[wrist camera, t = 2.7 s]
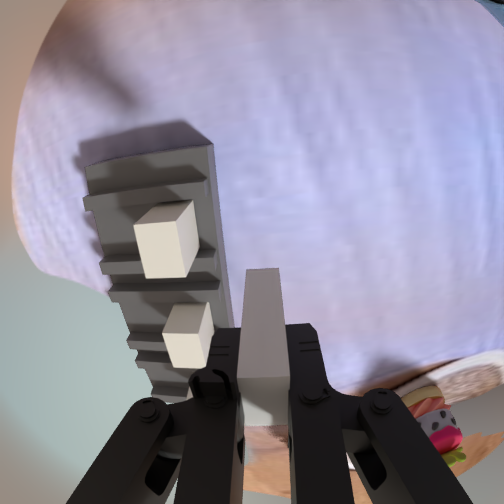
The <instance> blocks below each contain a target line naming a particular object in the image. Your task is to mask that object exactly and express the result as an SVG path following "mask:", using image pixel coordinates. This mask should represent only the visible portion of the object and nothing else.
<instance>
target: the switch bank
mask: <svg viewBox="0 0 504 504" xmlns="http://www.w3.org/2000/svg"><path fill="white" fill-rule="evenodd" d="M85 172H86V178H87V183H88V188H89V193H90V194H89V195H87V196H85V197H83V203H84V207H85V212H86V211H93V212H94V217H95V221H96V225H97V229H98V233H99V237H100V241H101V245H102V249H103V252H104V256H105V257H104V258H103V259H102V260H101V261H100V262H99V265H100V268H101V271H102V274H103V275H110V276H111V279H112V283H113V286H112V287H111V288H110V290H109V291H108V293H109V296H110V299H111V301H112V302H119V304H120V307H121V310H122V312H123V315H124V318H125V321H126V323H127V326H128V329H129V331H130V335H129V336H128V338H127V340H126V341H127V343H128V346H129V348H130V349H137V351H138V355H137V357H136V359H135V362H136V364H137V366H138V368H143V369H145V370H146V372H147V374H148V377H149V379H150V381H151V383H152V386H153V389H152V392H151V395H152V397H154V398H159V399H161V400H163V401H164V402H169V403H178V402H182V401H186V399H187V394H188V390H189V384H188V380H189V378H190V376H191V375H192V374H193V372H195V371H197V370H198V369H201V368H175V367H173V365H172V362H171V359H170V356H169V353H168V350H167V347H166V344H165V341H164V338H163V335H162V332H163V329H164V327H165V325H166V322H167V320H168V317H169V315H170V313H171V310H172V308H173V306H174V303H190V302H209V305H210V310H211V316H212V321H213V326H214V333H215V332H216V331H217V330H218V328H235V326H234V319H233V312H232V304H231V296H230V289H229V281H228V273H227V265H226V257H225V248H224V240H223V231H222V223H221V214H220V205H219V195H218V186H217V176H216V166H215V156H214V146H213V144H206V145H198V146H189V147H182V148H174V149H167V150H161V151H154V152H148V153H142V154H136V155H131V156H125V157H120V158H115V159H110V160H105V161H101V162H98V163H95V164H92V165H89V166H87V167H85ZM187 200H193V203H194V210H195V217H196V224H197V231H198V238H199V245H200V248H199V250H198V252H197V254H196V256H195V259H194V261H193V263H192V265H191V267H190V270H189V272H188V274H187V276H186V277H180V278H146V277H145V273H144V269H143V265H142V261H141V257H140V253H139V248H138V244H137V240H136V235H135V230H134V226H133V225H134V224H135V223H136V222H137V221H138V220H139V219H140V218H141V217H143V216H144V215H145V214H146V213H147V212H148V211H149V210H150V209H152V208H153V207H154V206H155V205H156V204H157V203H166V202H176V201H187Z"/></svg>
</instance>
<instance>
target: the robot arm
mask: <svg viewBox="0 0 504 504" xmlns="http://www.w3.org/2000/svg"><path fill="white" fill-rule="evenodd" d="M475 1H477V2H479V3H480V4H481V5H482V6H484V7H485V8H486V9H487V10H488V11H489V12H490V13H491V14H492V15H493V16H494V17H495V18H496V19H497V20H498V22H499V23H500V24H501V25H502V26H503V27H504V0H475ZM188 384H189V386H190V389H191V392H192V395H193V397H192V398H190V399H188V400H186V401H182V402H178V403H174V404H168V405H167V404H166V403H165V402H164V401H163V400H161V399H159V398H154V397H148V398H143V399H141V400H139V401H137V402H135V403H134V404H133V405H132V406H131V408H130V409H129V411H128V412H127V413H126V415H125V416H124V418H123V419H122V421H121V422H120V424H119V425H118V427H117V428H116V430H115V431H114V432H113V434H112V435H111V437H110V439H109V440H108V441H107V443H106V444H105V446H104V447H103V449H102V450H101V452H100V453H99V455H98V456H97V458H96V459H95V461H94V462H93V464H92V465H91V467H90V468H89V470H88V471H87V472H86V474H85V475H84V477H83V478H82V480H81V481H80V483H79V485H78V486H77V487H76V489H75V491H74V492H73V494H72V495H71V497H70V498H69V500H68V501H67V503H66V504H165V502H166V500H167V498H168V496H169V494H170V492H171V490H172V488H173V486H174V484H175V482H176V480H177V478H178V482H177V487H176V493H175V499H174V504H242V497H243V476H244V455H245V436H244V423H245V426H273V425H288V429H289V434H288V448H289V462H290V483H291V504H355V503H354V497H353V490H352V484H351V478H350V472H349V466H348V460H347V455H346V452H347V454H348V456H349V458H350V460H351V462H352V464H353V466H354V468H355V470H356V472H357V473H358V475H359V477H360V479H361V481H362V483H363V485H364V487H365V489H366V491H367V493H368V495H369V497H370V499H371V501H372V503H373V504H473V503H472V501H471V500H470V498H469V496H468V495H467V493H466V492H465V490H464V489H463V487H462V486H461V484H460V483H459V481H458V480H457V478H456V477H455V475H454V474H453V472H452V471H451V469H450V468H449V466H448V465H447V463H446V462H445V461H444V459H443V458H442V456H441V455H440V453H439V452H438V450H437V449H436V447H435V446H434V445H433V443H432V442H431V440H430V439H429V437H428V436H427V435H426V433H425V432H424V430H423V429H422V427H421V426H420V425H419V423H418V422H417V420H416V419H415V418H414V416H413V415H412V413H411V412H410V411H409V409H408V408H407V406H406V405H405V404H404V402H403V401H402V400H401V398H400V397H399V396H398V395H397V394H396V393H395V392H393V391H391V390H389V389H383V388H377V389H372V390H370V391H368V392H367V393H365V394H364V396H363V397H359V396H351V395H346V394H342V393H340V392H338V391H336V390H335V389H333V388H332V387H331V385H330V384H329V382H328V380H327V376H326V371H325V366H324V362H323V357H322V353H321V348H320V344H319V340H318V335H317V331H316V330H315V329H314V328H313V327H312V326H311V324H310V323H304V324H289V325H285V319H284V310H283V301H282V292H281V283H280V274H279V268H266V269H247V270H246V280H245V291H244V302H243V313H242V324H241V328H218V330H217V331H216V332H215V333H214V335H213V336H212V338H211V343H210V348H209V353H208V358H207V363H206V367H203V368H201V369H198V370H197V371H195V372H194V373H193V374H192V375H191V376H190V378H189V380H188Z"/></svg>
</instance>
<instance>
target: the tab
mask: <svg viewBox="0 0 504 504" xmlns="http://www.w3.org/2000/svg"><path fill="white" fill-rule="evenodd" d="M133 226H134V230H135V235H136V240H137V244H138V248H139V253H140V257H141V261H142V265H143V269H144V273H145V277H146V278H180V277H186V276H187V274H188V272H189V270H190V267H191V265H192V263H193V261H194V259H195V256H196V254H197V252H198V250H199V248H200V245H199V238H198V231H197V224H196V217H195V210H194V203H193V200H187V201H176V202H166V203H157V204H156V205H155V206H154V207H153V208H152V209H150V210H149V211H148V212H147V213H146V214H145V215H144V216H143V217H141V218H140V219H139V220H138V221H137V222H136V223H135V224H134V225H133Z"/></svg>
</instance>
